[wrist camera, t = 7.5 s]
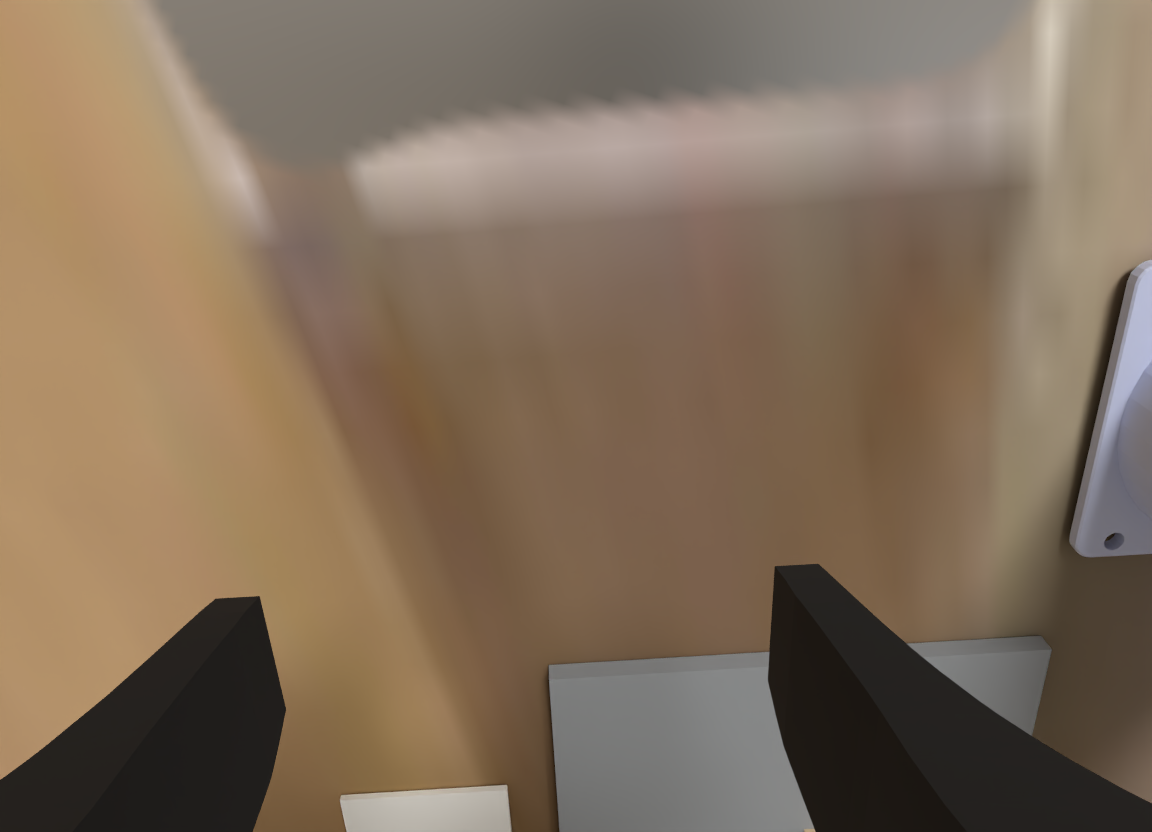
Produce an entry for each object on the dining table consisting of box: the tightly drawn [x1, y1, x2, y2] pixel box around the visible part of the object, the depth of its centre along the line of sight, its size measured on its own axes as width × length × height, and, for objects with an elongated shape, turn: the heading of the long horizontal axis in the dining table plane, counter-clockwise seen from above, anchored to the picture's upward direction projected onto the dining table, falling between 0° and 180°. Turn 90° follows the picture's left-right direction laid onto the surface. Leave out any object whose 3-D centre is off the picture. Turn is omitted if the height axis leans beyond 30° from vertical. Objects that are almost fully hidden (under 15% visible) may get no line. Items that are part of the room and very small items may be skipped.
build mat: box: [549, 636, 1052, 832], centre depth 28 cm, size 14×12×1 cm
